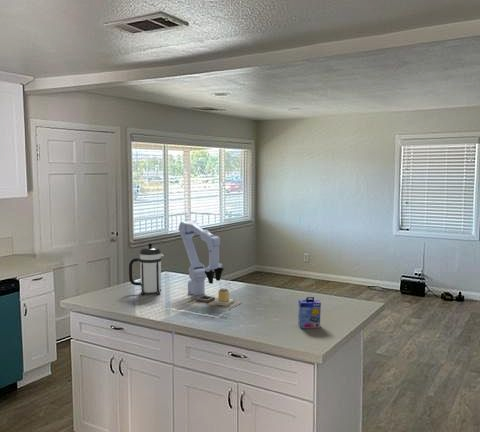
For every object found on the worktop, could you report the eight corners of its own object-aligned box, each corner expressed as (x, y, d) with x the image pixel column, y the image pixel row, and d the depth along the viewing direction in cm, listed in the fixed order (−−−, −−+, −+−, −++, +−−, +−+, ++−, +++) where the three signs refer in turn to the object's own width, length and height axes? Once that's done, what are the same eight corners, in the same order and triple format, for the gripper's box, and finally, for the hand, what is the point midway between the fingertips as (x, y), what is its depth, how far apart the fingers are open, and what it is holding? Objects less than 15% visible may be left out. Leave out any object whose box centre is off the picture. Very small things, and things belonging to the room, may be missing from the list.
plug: (218, 303, 260) (218, 289, 259) (222, 301, 263) (222, 287, 262) (224, 304, 258) (224, 290, 257) (228, 302, 261) (228, 288, 261)
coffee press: (152, 288, 297) (152, 240, 294) (168, 292, 286) (168, 243, 283) (128, 293, 285) (127, 243, 282) (144, 298, 274) (143, 246, 271)
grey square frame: (195, 301, 265) (195, 298, 265) (203, 297, 271) (203, 295, 271) (207, 302, 261) (207, 300, 261) (214, 299, 268) (214, 296, 268)
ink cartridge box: (299, 328, 222) (300, 298, 221) (297, 324, 228) (297, 294, 226) (320, 328, 223) (321, 297, 222) (318, 324, 229) (318, 294, 227)
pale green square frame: (214, 304, 259) (214, 301, 259) (221, 300, 266) (221, 298, 265) (226, 306, 255) (226, 303, 255) (233, 302, 262) (233, 299, 262)
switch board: (187, 303, 264) (187, 301, 263) (201, 297, 276) (201, 295, 276) (228, 310, 251) (228, 308, 251) (241, 303, 263) (241, 301, 263)
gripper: (213, 260, 260) (213, 285, 261) (226, 256, 272) (227, 280, 274) (202, 259, 263) (202, 284, 264) (216, 255, 276) (216, 278, 277)
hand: (214, 281), depth 269 cm, fingers open, 7 cm apart
